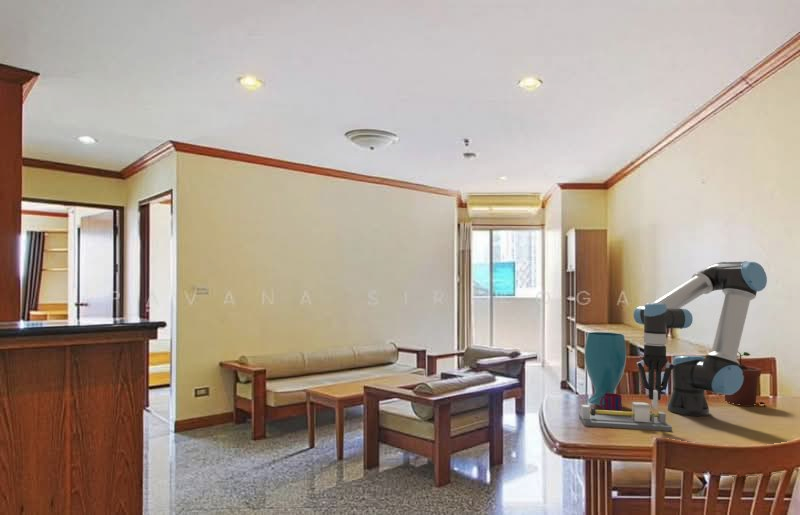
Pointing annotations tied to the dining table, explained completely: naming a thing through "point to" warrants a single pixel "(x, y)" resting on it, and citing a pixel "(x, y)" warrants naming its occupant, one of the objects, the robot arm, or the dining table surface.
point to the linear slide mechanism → (622, 419)
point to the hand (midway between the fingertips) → (654, 408)
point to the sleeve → (641, 411)
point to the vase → (604, 362)
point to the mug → (611, 402)
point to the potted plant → (746, 386)
